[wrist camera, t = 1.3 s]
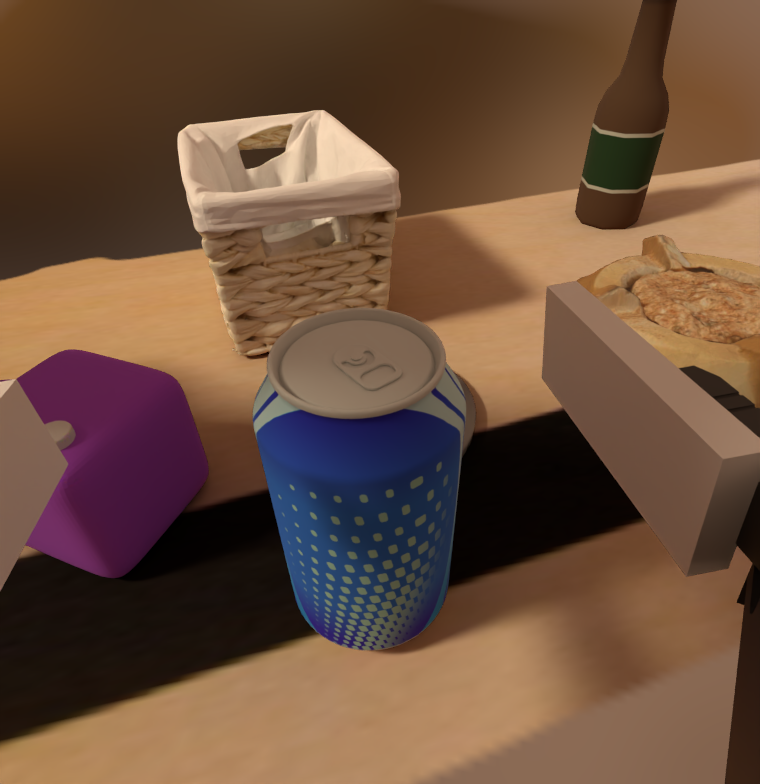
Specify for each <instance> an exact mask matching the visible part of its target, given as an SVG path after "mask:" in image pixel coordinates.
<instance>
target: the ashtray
mask: <svg viewBox="0 0 760 784" xmlns="http://www.w3.org/2000/svg"><path fill="white" fill-rule="evenodd" d="M577 282H578V283H579V284H581V285H582V286H583V287H584V288H585V289H586V290H588V291H589V292H590V293H591V294H592V295H593V296H595V297H596V298H597V299H598V300H599V301H600V302H602V303H603V304H604V305H605V306H606V307H607V308H609V309H610V310H611V311H612V312H613V313H614V314H616V315H617V316H618V317H619V318H620V319H621V320H623V321H624V322H625V323H626V324H627V325H628V326H630V327H631V328H632V329H633V330H634V331H635V332H637V333H638V334H639V335H640V336H641V337H642V338H644V339H645V340H646V341H647V342H648V343H649V344H651V345H652V346H653V347H654V348H655V349H656V350H658V351H659V352H660V353H661V354H662V355H663V356H665V357H666V358H667V359H668V360H669V361H670V362H672V363H673V364H674V365H675V366H676V367H677V368H683V367H688V366H693V365H694V366H696V367H699V368H701V369H703V370H706V371H708V372H710V373H713V374H715V375H717V376H719V377H721V378H722V379H724V380H725V381H726V382H727V383H729V384H730V385H731V386H732V387H734V388H735V389H736V390H737V391H739V395H744V396H745V397H746V398H747V399H749V400H750V401H751V402H753V403H754V404H755V407H756V408H760V267H759V266H756V265H753V264H749V263H744V262H739V261H735V260H732V259H724V258H719V257H715V256H708V255H700V254H690V253H683V252H680V251H679V249H678V248H677V247H676V245H675V243H674V241H673V240H672V239H671V238H669V237H666V236H664V235H656V236H652V237H649V238H645V239H644V240H643V250H642V256H632V257H625V258H623V259H620V260H617V261H615V262H612V263H611V264H609V265H606V266H605V267H603V268H601V269H599V270H598V271H596V272H595V273H593V274H591V275H589V276H586V277H582V278H580V279H579V280H577Z"/></svg>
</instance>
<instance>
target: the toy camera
mask: <svg viewBox="0 0 760 784" xmlns="http://www.w3.org/2000/svg"><path fill="white" fill-rule="evenodd" d="M2 381H8V380H0V382H2ZM17 381H18V382H19V384H20V386H21V387H22V389H23V391H24V392H25V394H26V396H27V397H28V399H29V400H30V402H31V404H32V405H33V407H34V409H35V410H36V412H37V413H38V415H39V417H40V418H41V420H42V422H43V423H44V425H45V427H46V428H47V430H48V431H49V433H50V435H51V436H52V438H53V440H54V441H55V443H56V445H57V446H58V448H59V449H60V451H61V453H62V454H63V456H64V458H65V459H66V461H67V462H68V466H67V468H66V470H65V472H64V473H63V475H62V477H61V479H60V481H59V483H58V485H57V486H56V488H55V490H54V492H53V494H52V496H51V498H50V499H49V501H48V503H47V505H46V507H45V509H44V511H43V513H42V514H41V516H40V518H39V520H38V522H37V524H36V526H35V527H34V529H33V531H32V533H31V535H30V537H29V539H28V540H27V542H26V544H25V545H27V546H29V547H31V548H34V549H36V550H38V551H41V552H43V553H45V554H48V555H50V556H52V557H55V558H57V559H59V560H62V561H64V562H66V563H69V564H71V565H73V566H76V567H78V568H81V569H83V570H86V571H88V572H91V573H93V574H96V575H99V576H103V577H108V578H118V577H122V576H124V575H125V574H127V573H128V572H129V571H131V570H132V569H133V568H134V567H135V566H136V565H137V564H138V563H139V562H140V561H141V559H142V558H143V557H144V556H145V555H146V554H147V553H148V551H149V550H150V549H151V548H152V547H153V546H154V544H155V543H156V542H157V541H158V540H159V538H160V537H161V536H162V535H163V534H164V532H165V531H166V530H167V529H168V528H169V526H170V525H171V524H172V523H173V522H174V520H175V519H176V518H177V517H178V516H179V514H180V513H181V512H182V511H183V510H184V508H185V507H186V506H187V505H188V504H189V502H190V501H191V500H192V499H193V498H194V496H195V495H196V494H197V493H198V491H199V490H200V489H201V487H202V486H203V484H204V483H205V481H206V479H207V477H208V473H209V468H208V462H207V458H206V455H205V452H204V449H203V446H202V443H201V440H200V437H199V434H198V431H197V428H196V425H195V422H194V419H193V416H192V414H191V411H190V408H189V405H188V402H187V399H186V397H185V394H184V392H183V390H182V388H181V386H180V384H179V383H178V381H177V380H176V379H175V378H174V377H172V376H171V375H169V374H167V373H165V372H162V371H159V370H156V369H152V368H149V367H145V366H141V365H138V364H134V363H130V362H126V361H122V360H118V359H114V358H111V357H107V356H103V355H99V354H95V353H91V352H86V351H82V350H65V351H61V352H59V353H57V354H55V355H53V356H51V357H49V358H48V359H46V360H44V361H43V362H41V363H40V364H38V365H37V366H35V367H34V368H32V369H31V370H29V371H28V372H26V373H25V374H23V375H22V376H20V377H19V378H17Z"/></svg>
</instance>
